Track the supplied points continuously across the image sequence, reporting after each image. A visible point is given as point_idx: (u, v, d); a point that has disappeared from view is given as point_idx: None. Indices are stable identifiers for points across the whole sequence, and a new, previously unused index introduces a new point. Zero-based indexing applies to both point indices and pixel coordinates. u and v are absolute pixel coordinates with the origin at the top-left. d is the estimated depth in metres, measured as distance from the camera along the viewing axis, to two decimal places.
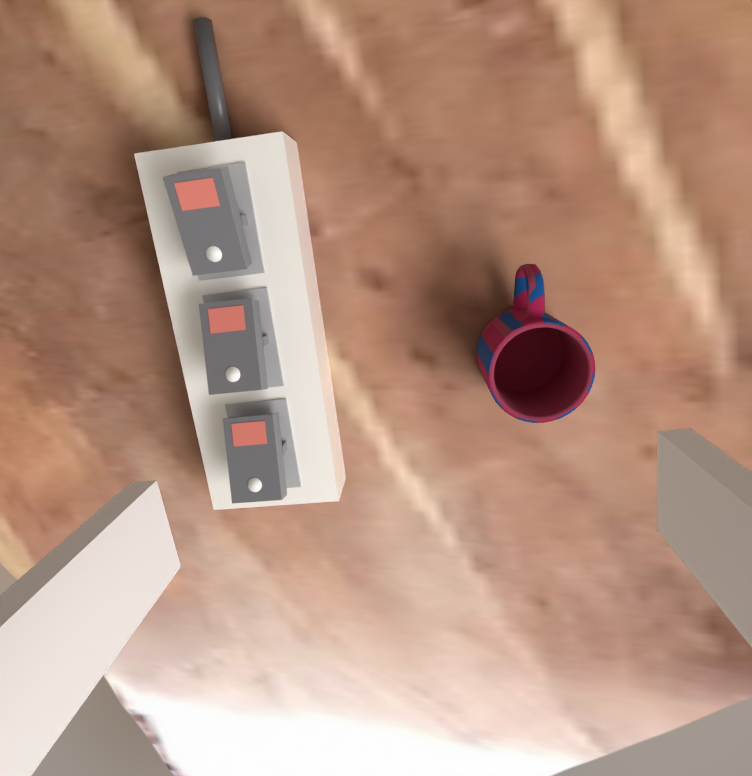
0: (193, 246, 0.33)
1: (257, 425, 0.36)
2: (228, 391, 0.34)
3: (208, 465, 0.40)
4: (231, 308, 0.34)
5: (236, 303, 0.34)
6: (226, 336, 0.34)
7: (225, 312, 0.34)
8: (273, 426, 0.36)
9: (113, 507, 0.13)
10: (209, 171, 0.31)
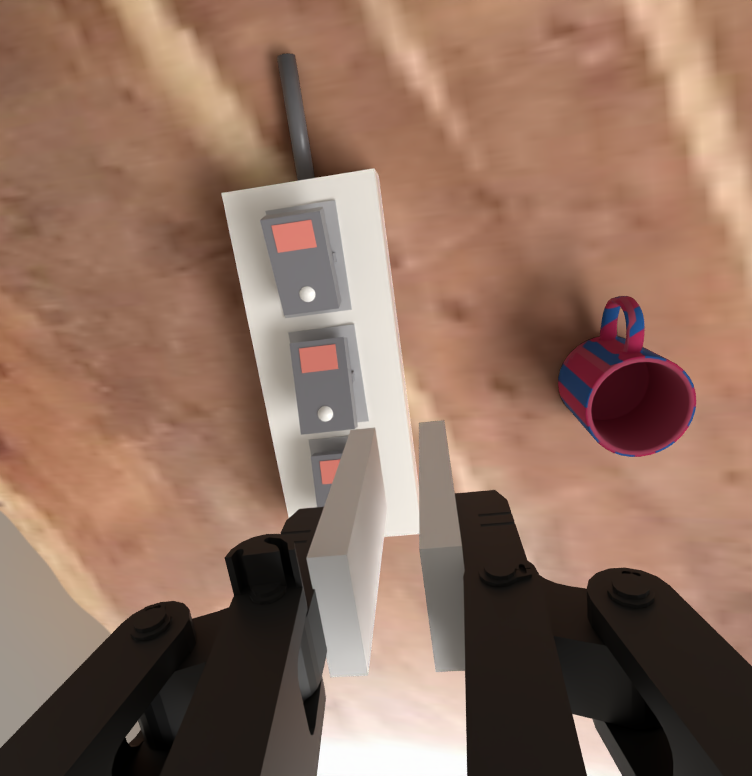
0: (286, 287, 0.32)
1: None
2: (321, 431, 0.34)
3: (289, 500, 0.40)
4: (323, 347, 0.34)
5: (328, 342, 0.34)
6: (318, 375, 0.34)
7: (317, 351, 0.34)
8: None
9: (356, 446, 0.14)
10: (308, 214, 0.30)
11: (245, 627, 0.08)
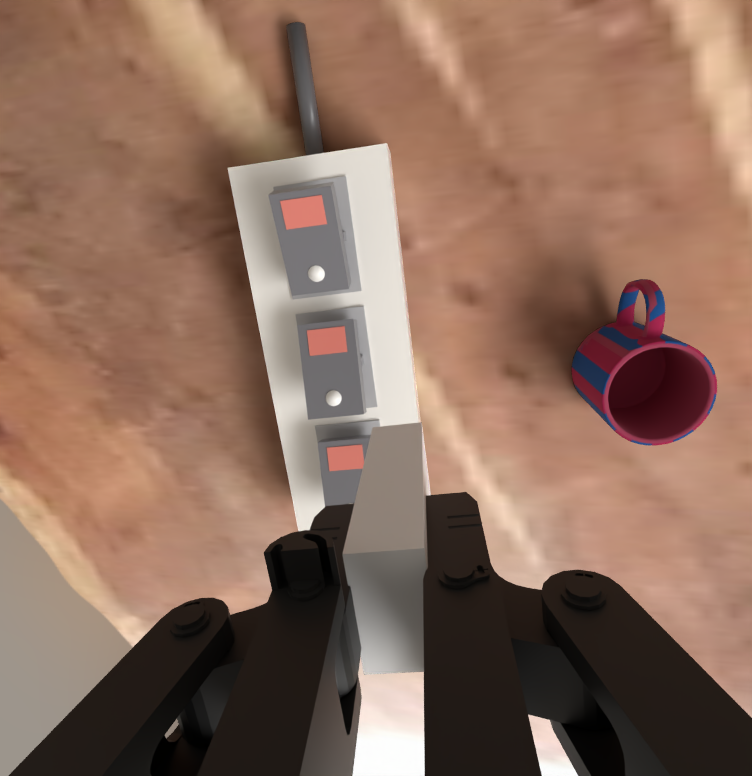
0: (294, 266, 0.31)
1: (354, 449, 0.35)
2: (328, 416, 0.33)
3: (294, 487, 0.39)
4: (331, 329, 0.33)
5: (337, 324, 0.32)
6: (326, 358, 0.33)
7: (325, 333, 0.33)
8: None
9: (380, 443, 0.14)
10: (319, 189, 0.29)
11: (283, 623, 0.08)
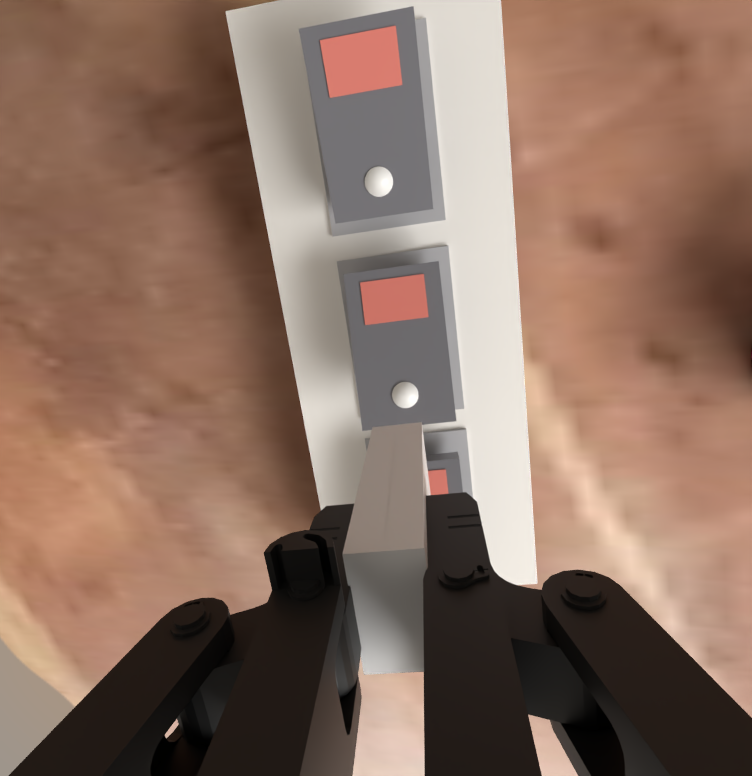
0: (342, 168, 0.18)
1: (433, 477, 0.22)
2: (397, 424, 0.20)
3: None
4: (402, 280, 0.19)
5: (411, 271, 0.19)
6: (393, 329, 0.20)
7: (391, 287, 0.19)
8: (461, 478, 0.22)
9: (380, 443, 0.14)
10: (391, 13, 0.16)
11: (283, 623, 0.08)
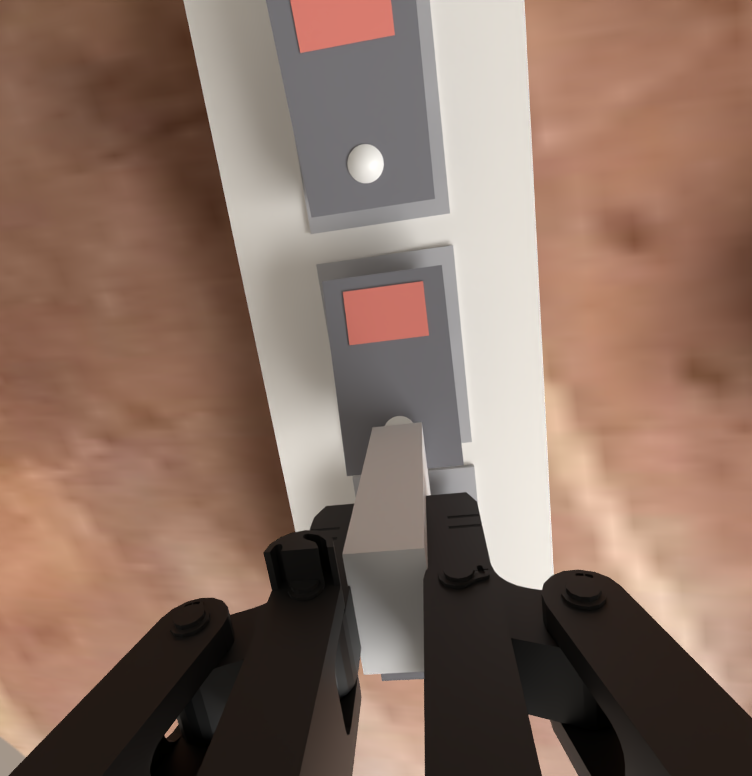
0: (318, 146, 0.14)
1: None
2: None
3: None
4: (395, 289, 0.15)
5: (407, 277, 0.15)
6: (385, 350, 0.16)
7: (382, 298, 0.15)
8: None
9: (380, 444, 0.14)
10: None
11: (283, 623, 0.08)
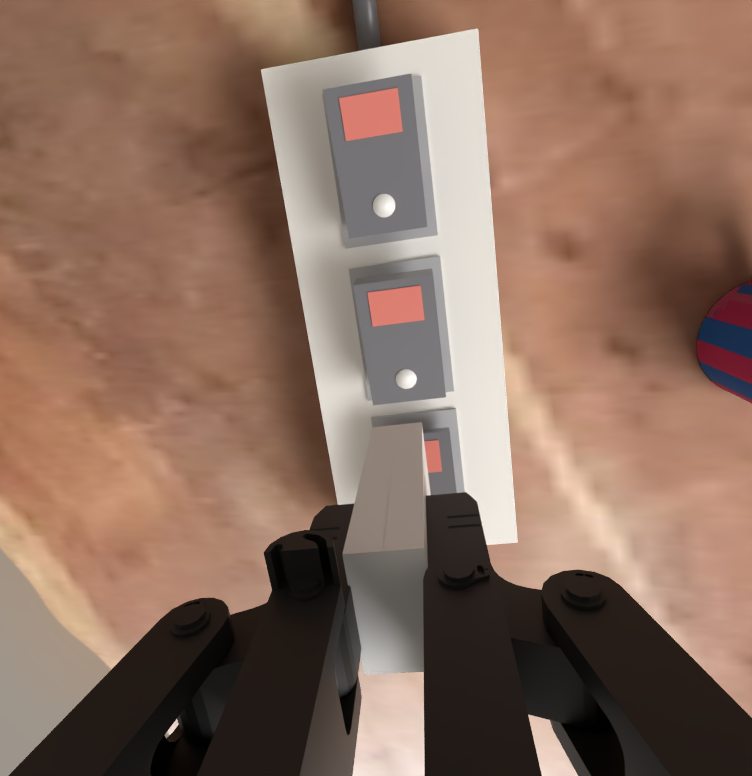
0: (354, 195, 0.23)
1: (428, 446, 0.26)
2: (400, 400, 0.26)
3: (342, 498, 0.30)
4: (402, 290, 0.23)
5: (410, 283, 0.23)
6: (396, 329, 0.24)
7: (394, 296, 0.23)
8: (451, 447, 0.26)
9: (380, 443, 0.14)
10: (394, 78, 0.21)
11: (283, 623, 0.08)
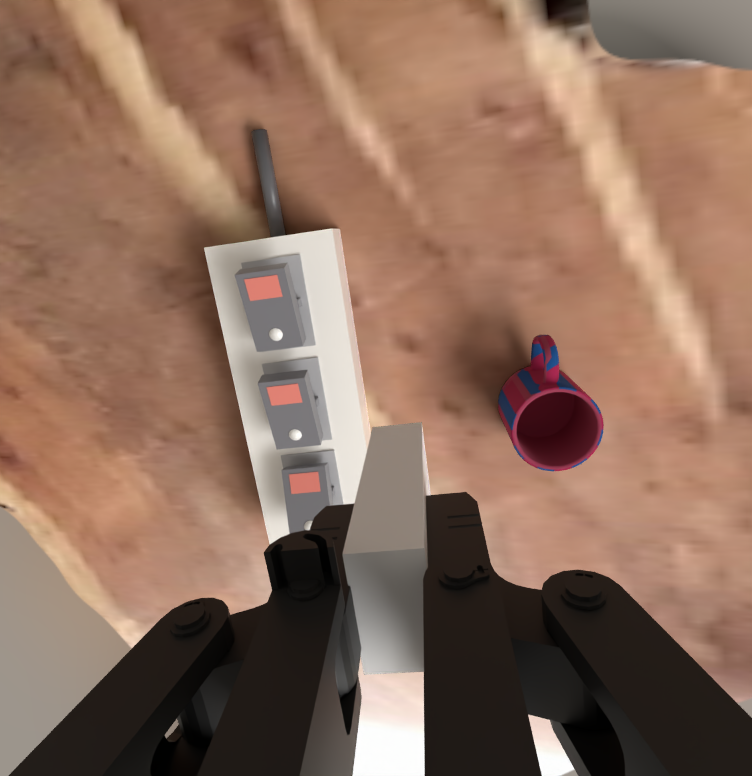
0: (258, 328, 0.39)
1: (311, 475, 0.42)
2: (293, 446, 0.41)
3: (265, 507, 0.46)
4: (287, 386, 0.39)
5: (291, 382, 0.39)
6: (285, 407, 0.40)
7: (282, 389, 0.39)
8: (325, 476, 0.42)
9: (380, 443, 0.14)
10: (275, 270, 0.36)
11: (283, 623, 0.08)
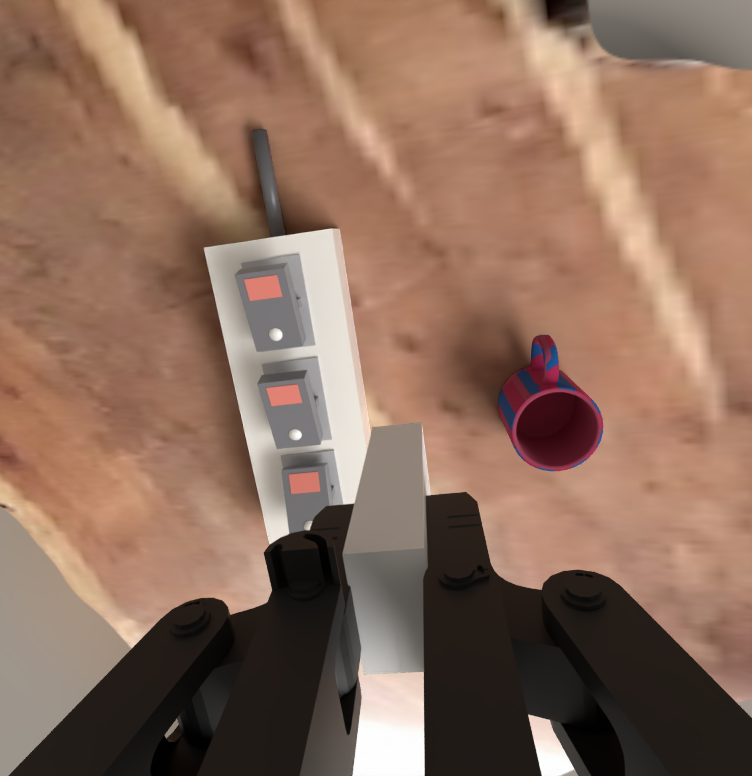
0: (257, 328, 0.39)
1: (311, 475, 0.42)
2: (293, 446, 0.41)
3: (265, 507, 0.46)
4: (287, 386, 0.39)
5: (291, 383, 0.39)
6: (285, 407, 0.40)
7: (282, 390, 0.39)
8: (325, 476, 0.42)
9: (380, 443, 0.14)
10: (274, 270, 0.36)
11: (283, 623, 0.08)
